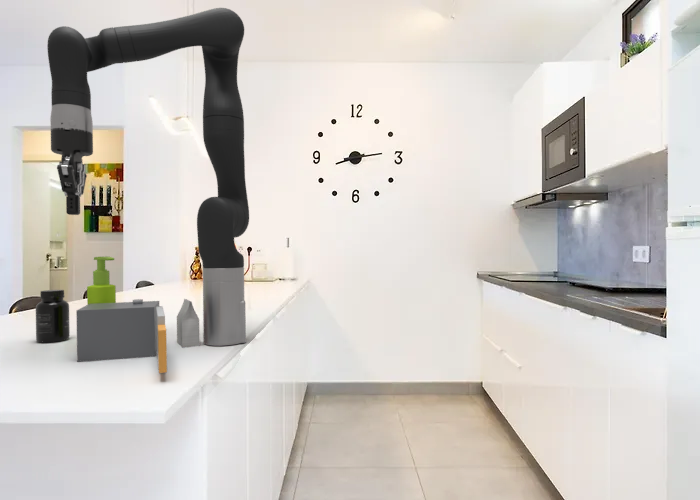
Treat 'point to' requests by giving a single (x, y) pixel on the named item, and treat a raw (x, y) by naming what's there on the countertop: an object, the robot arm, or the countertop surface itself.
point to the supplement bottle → (52, 317)
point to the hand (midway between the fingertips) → (73, 214)
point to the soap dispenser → (101, 284)
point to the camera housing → (117, 330)
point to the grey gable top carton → (187, 326)
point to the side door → (161, 340)
